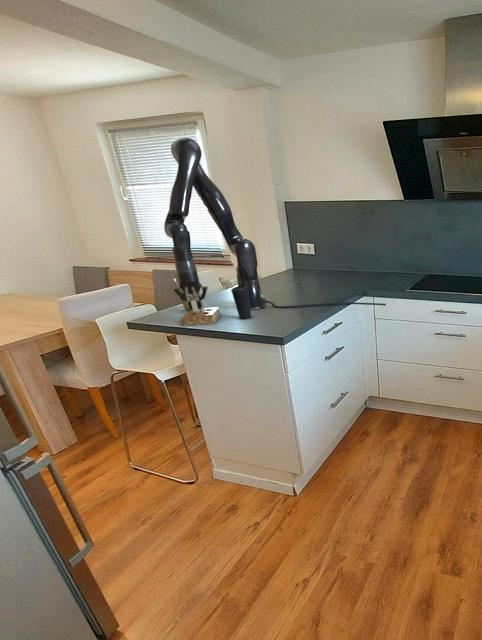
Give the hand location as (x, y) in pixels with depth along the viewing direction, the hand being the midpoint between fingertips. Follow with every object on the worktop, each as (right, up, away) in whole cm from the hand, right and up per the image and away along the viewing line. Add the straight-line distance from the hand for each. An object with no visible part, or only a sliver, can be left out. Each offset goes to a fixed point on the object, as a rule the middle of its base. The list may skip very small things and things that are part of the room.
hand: (196, 309), depth 171 cm
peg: (0, -4, +2) cm, 5 cm away
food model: (-10, +2, +16) cm, 19 cm away
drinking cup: (+20, -4, +4) cm, 21 cm away
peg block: (+3, -5, 0) cm, 6 cm away
